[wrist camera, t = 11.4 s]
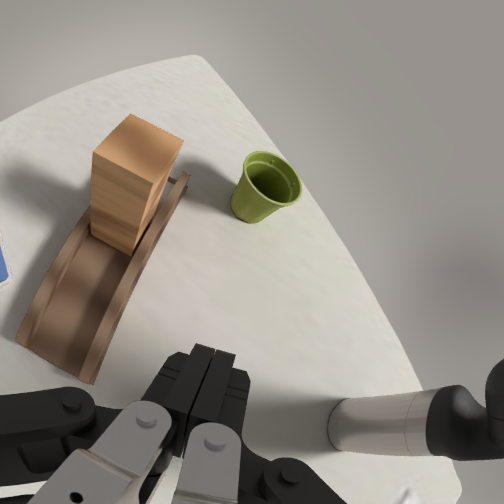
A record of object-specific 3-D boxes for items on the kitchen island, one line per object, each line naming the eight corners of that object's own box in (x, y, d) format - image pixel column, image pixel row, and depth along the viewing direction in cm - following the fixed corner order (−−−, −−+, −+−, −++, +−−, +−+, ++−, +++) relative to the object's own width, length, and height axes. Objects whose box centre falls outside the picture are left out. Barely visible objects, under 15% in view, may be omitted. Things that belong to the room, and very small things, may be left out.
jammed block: (131, 256, 34) (153, 183, 22) (90, 234, 32) (92, 151, 20) (152, 220, 37) (184, 140, 25) (114, 199, 35) (130, 113, 23)
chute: (93, 384, 26) (91, 385, 24) (20, 342, 24) (11, 338, 21) (186, 190, 43) (193, 176, 40) (130, 160, 40) (133, 145, 37)
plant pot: (235, 240, 43) (264, 210, 36) (210, 187, 45) (233, 152, 38) (281, 226, 49) (312, 199, 42) (256, 180, 50) (282, 149, 44)
